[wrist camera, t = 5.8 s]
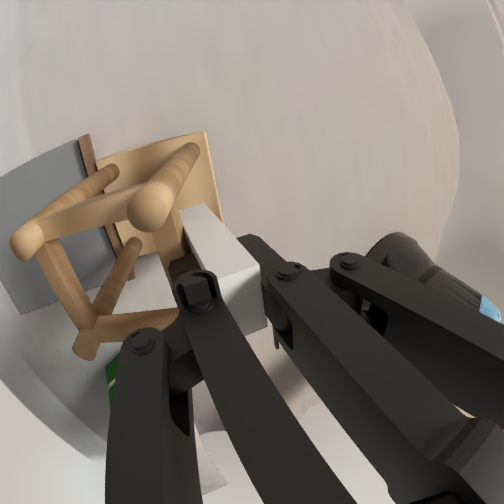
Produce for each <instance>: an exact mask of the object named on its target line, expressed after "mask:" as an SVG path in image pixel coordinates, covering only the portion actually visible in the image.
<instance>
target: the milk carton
mask: <svg viewBox="0 0 504 504" xmlns="http://www.w3.org/2000/svg"><path fill="white" fill-rule="evenodd" d="M119 356H120V354H119V355H118V356H117V357H116V358H115V359H114V360H113V361H112V362H111V363H110V364H109V365H108V366H107V367H106V376H107V384H108V391H109V400H110V410H111V404H112V397H113V391H114V384H115V378H116V372H117V367H118V361H119ZM194 429H195V440H196V451H197V461H198V470H199V478H200V486H201V494H202V495H204V494H206V493H209V492H211V491H214V490H216V489H218V488H220V487H223V486H225V485H227V484H228V482H227V481H226V480H225V478H224V477H223V476H222V474H221V473H220V471H219V470H218V469H217V467H216V466H215V465H214V463H213V461H212V460H211V459H210V457H209V456H208V454H207V452H206V451H205V449H204V446H203V444H202V441H201V439H200V436H199V433H198V431H197V428H196V425H195V423H194Z"/></svg>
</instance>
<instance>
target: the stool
mask: <svg viewBox="0 0 504 504" xmlns="http://www.w3.org/2000/svg"><path fill="white" fill-rule="evenodd" d="M96 165H97V169H98V171H97V172H95V173H94V174H92V175H90V176H89V177H87V178H86V179H84V180H83V181H81V182H80V183H78V184H77V185H75V186H74V187H72V188H71V189H69V190H68V191H67V192H65V193H64V194H62V195H61V196H60V197H58V198H57V199H55V200H54V201H53V202H51V203H50V204H49V205H47V206H46V207H45V208H43V209H42V210H41V211H40V212H38V213H37V214H36V215H35V216H33V217H32V218H31V219H30V220H28V221H27V222H26V223H25V224H24V225H22V226H21V227H20V228H19V229H18V230H17V231H15V232H14V233H13V234H12V235H11V237H10V241H9V242H10V248H11V250H12V252H13V254H14V255H15V256H16V257H17V258H18V259H19V260H21V261H24V262H25V261H28V260H29V259H30V258H31V257H32V256H33V255H34V254H35V255H36V257H37V260H38V262H39V264H40V266H41V268H42V270H43V271H44V273H45V275H46V277H47V279H48V281H49V283H50V285H51V286H52V288H53V290H54V292H55V293H56V295H57V297H58V299H59V300H60V302H61V304H62V305H63V307H64V309H65V310H66V312H67V313H68V315H69V317H70V318H71V320H72V321H73V323H74V324H75V326H76V327H77V329H78V330H79V333H78V335H77V337H76V340H75V342H74V344H73V346H72V349H73V351H74V353H75V354H76V355H77V356H79V357H80V358H82V359H84V360H88V361H92V360H94V358H95V356H96V353H97V350H98V347H99V345H100V343H105V342H124V340H125V339H126V337H127V336H128V335H129V334H130V333H132V332H134V331H135V330H137V329H141V328H144V327H153V328H155V329H158V330H159V331H161V330H163V329H164V328H166V327H167V326H169V325H170V324H171V323H172V322H173V321H174V320H175V319H176V317H177V316H178V313H179V309H178V307H177V308H169V309H160V310H152V311H143V312H134V313H124V314H114V315H111V314H112V312H113V309H114V307H115V305H116V302H117V300H118V298H119V296H120V293H121V291H122V289H123V287H124V284H125V282H126V280H127V278H128V276H129V274H130V271H131V269H132V267H133V265H134V263H135V261H136V259H137V257H138V256H141V255H147V254H152V253H158V254H159V256H160V259H161V262H162V265H163V268H164V270H165V273H166V276H167V278H168V281H169V284H170V286H171V289H172V282H171V278H170V275H169V271H168V266H169V264H170V261H171V260H174V259H177V258H180V257H183V256H186V255H189V254H191V253H190V249H189V246H188V242H187V239H186V235H185V232H184V228H183V225H182V221H181V217H180V213H179V210H182V209H186V208H189V207H192V206H196V205H199V204H202V203H205V204H206V205H207V206H208V208H209V209H210V210H211V211H212V212H213V213H214V214H215V215H216V217H217V218H218V219H219V220H220V221H221V222H222V223H223V224H224V222H223V217H222V212H221V207H220V202H219V197H218V192H217V187H216V182H215V177H214V172H213V167H212V161H211V156H210V151H209V146H208V140H207V135H206V131H201V132H196V133H192V134H187V135H183V136H178V137H174V138H170V139H166V140H162V141H158V142H154V143H150V144H147V145H143V146H140V147H136V148H133V149H130V150H126V151H123V152H120V153H117V154H114V155H111V156H108V157H105V158H103V159H101V160H99V161H97V162H96ZM103 189H104V192H105V194H102V195H99V196H96V195H97V194H98V193H99V192H101V191H102V190H103ZM113 223H115V225H116V228H117V231H118V233H119V236H120V239H121V241H122V244H123V246H124V248H123V250H122V252H121V253H120V255H119V257H118V258H117V260H116V262H115V263H114V265H113V267H112V269H111V270H110V272H109V274H108V276H107V278H106V279H105V281H104V283H103V285H102V287H101V289H100V291H99V292H98V294H97V296H96V298H95V300H94V302H93V304H91V302H90V300H89V299H88V297H87V295H86V293H85V291H84V289H83V288H82V286H81V284H80V282H79V280H78V278H77V276H76V274H75V272H74V270H73V268H72V266H71V264H70V262H69V260H68V258H67V255H66V253H65V251H64V249H63V247H62V244H61V242H60V240H59V238H60V237H63V236H67V235H70V234H74V233H78V232H81V231H85V230H89V229H93V228H97V227H101V226H105V225H109V224H113Z"/></svg>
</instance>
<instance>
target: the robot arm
mask: <svg viewBox="0 0 504 504" xmlns="http://www.w3.org/2000/svg"><path fill="white" fill-rule="evenodd" d="M179 213H180V217H181V221H182V225H183V228H184V232H185V235H186V239H187V242H188V246H189V249H190V253H191V254H189V255H186V256H183V257H180V258H177V259H174V260H171V261H170V264H169V266H168V271H169V275H170V278H171V282H172V293H173V296H174V298H175V301H176V303H177V306H178V309H179V313H178V316H177V317H176V319H175V320H174V321H173V322H172V323H171V324H170V325H169V326H167V327H166V328H164V329H163V330H161V331H159V330H158V329H155V328H153V327H144V328H141V329H137V330H135V331H134V332H132V333H130V334H129V335H128V336H127V337H126V339H125V340H124V342H123V344H122V346H121V351H120V356H119V361H118V367H117V372H116V378H115V384H114V391H113V397H112V404H111V412H110V421H109V430H108V440H107V453H106V473H105V474H106V475H105V504H203V501H202V494H201V486H200V478H199V470H198V461H197V451H196V440H195V429H194V415H193V399H192V389H191V388H192V387H194V386H195V385H196V384H198V383H199V382H201V381H202V380H203V379H204V380H205V382H206V385H207V387H208V390H209V392H210V395H211V397H212V399H213V402H214V404H215V407H216V409H217V411H218V413H219V416H220V418H221V420H222V422H223V425H224V427H225V429H226V431H227V433H228V435H229V437H230V440H231V442H232V444H233V446H234V448H235V450H236V452H237V454H238V456H239V458H240V460H241V462H242V464H243V466H244V468H245V470H246V472H247V474H248V476H249V477H250V479H251V481H252V483H253V485H254V487H255V488H256V490H257V492H258V494H259V496H260V497H261V499H262V501H263V503H264V504H357V503H356V501H355V500H354V499H353V497H352V496H351V495H350V494H349V492H348V491H347V490H346V488H345V487H344V486H343V484H342V483H341V482H340V480H339V479H338V478H337V476H336V475H335V474H334V472H333V471H332V470H331V468H330V467H329V465H328V464H327V463H326V462H325V460H324V458H323V457H322V456H321V454H320V453H319V451H318V450H317V449H316V447H315V446H314V444H313V443H312V441H311V440H310V439H309V437H308V435H307V434H306V433H305V431H304V430H303V428H302V427H301V425H300V424H299V422H298V421H297V419H296V418H295V416H294V415H293V413H292V412H291V410H290V409H289V407H288V406H287V404H286V403H285V401H284V399H283V398H282V396H281V395H280V393H279V392H278V390H277V389H276V387H275V385H274V384H273V382H272V381H271V379H270V377H269V376H268V374H267V373H266V371H265V369H264V368H263V366H262V365H261V363H260V361H259V360H258V358H257V356H256V355H255V353H254V352H253V350H252V348H251V347H250V345H249V343H248V342H247V340H246V338H245V337H244V336H246V335H248V334H251V333H253V332H256V331H258V330H261V329H263V328H265V327H268V325H267V317H268V319H269V320H270V322H271V323H272V326H273V335H274V343H275V347H276V350H277V349H279V343H280V344H281V345H282V347H283V348H284V350H285V351H286V352H287V354H288V355H289V357H290V358H291V359H292V361H293V362H294V363H295V365H296V366H297V368H298V369H299V370H300V372H301V373H302V374H303V376H304V377H305V378H306V380H307V381H308V383H309V384H310V385H311V387H312V388H313V389H314V391H315V392H316V393H317V395H318V396H319V397H320V399H321V400H322V401H323V403H324V404H325V405H326V407H327V408H328V409H329V411H330V412H331V413H332V414H333V416H334V417H335V418H336V420H337V421H338V422H339V423H340V425H341V426H342V428H343V429H344V430H345V431H346V433H347V434H348V435H349V436H350V438H351V439H352V440H353V441H354V443H355V444H356V446H357V447H358V448H359V449H360V451H361V452H362V453H363V454H364V456H365V457H366V458H367V459H368V460H369V462H370V463H371V464H372V465H373V467H374V468H375V469H376V471H377V472H378V473H379V474H380V475H381V477H382V478H383V479H384V480H385V482H386V484H387V486H388V492H389V495H390V497H391V498H392V500H393V501H394V502H395V503H396V504H504V431H503V430H504V325H503V324H501V323H500V319H501V316H500V312H499V310H498V308H497V307H496V306H495V305H494V304H492V303H491V302H490V301H489V300H488V299H487V298H485V296H484V295H483V294H482V295H481V294H480V293H479V292H477V291H476V290H474V289H473V288H471V287H470V286H468V285H467V284H465V283H464V282H462V281H461V280H459V279H458V278H456V277H454V276H453V275H451V274H450V273H448V272H447V271H445V270H444V269H442V268H440V267H439V266H437V265H436V264H435V263H434V262H433V261H432V260H431V259H430V257H429V256H428V255H427V254H426V253H425V252H424V250H423V249H422V248H421V247H420V246H419V245H418V243H417V242H416V241H415V240H414V239H413V238H411V237H409V236H408V235H406V234H404V233H401V232H396V233H392V234H390V235H388V236H386V237H385V238H383V239H382V240H381V241H380V242H379V243H378V244H377V245H376V246H375V247H374V248H373V249H372V250H371V252H370V253H369V254H368V256H367V257H364V256H362V255H359V254H356V253H350V252H344V253H339V254H337V255H335V256H333V257H332V258H331V260H330V268H325V269H318V270H310V271H309V270H308V269H307V268H306V267H305V266H303V265H301V264H300V263H296V262H286V261H285V260H284V259H283V258H282V257H281V256H279V255H278V254H277V253H276V252H275V251H274V250H273V249H272V248H270V246H269V245H268V244H266V243H265V242H264V241H263V240H262V239H261V238H260V237H258V236H255V235H252V234H248V235H245V236H242V237H238V238H235V237H234V236H233V234H232V233H231V232H230V231H229V230H228V229H227V228H226V227H225V226H224V224H223V223H222V222H221V221H220V220H219V219H218V218H217V217H216V215H215V214H214V213H213V212H212V211H211V210H210V209H209V208H208V206H207V205H206V204H205V203H202V204H199V205H196V206H192V207H189V208H186V209H182V210H179ZM266 316H267V317H266ZM454 405H455V406H457V407H459V408H460V409H462V410H464V411H465V412H467V413H469V414H471V415H472V416H474V417H476V418H469V417H466V416H465V415H463V414H462V413H461V412H460V411H459V410H458V409H457V408H456V407H455V406H454Z"/></svg>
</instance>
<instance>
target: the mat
mask: <svg viewBox="0 0 504 504" xmlns="http://www.w3.org/2000/svg"><path fill="white" fill-rule="evenodd" d="M86 178H87V175H86V172H85V168H84V165H83V161H82V157H81V153H80V149H79V145H78V141H77V139H75V140H73V141H70V142H68V143H66V144H64V145H61V146H59V147H57V148H55V149H52V150H50V151H48V152H46V153H44V154H42V155H40V156H38V157H36V158H34V159H32V160H30V161H28V162H26V163H25V164H23V165H21V166H19V167H17V168H16V169H14V170H12V171H10V172H9V173H7V174H5V175H3V176H2V177H0V280H1V282H2V283H3V285H4V287H5V289H6V290H7V292H8V294H9V296H10V297H11V299H12V300H13V302H14V304H15V305H16V307H17V308H18V310H19V312H20V313H21V315H22V314H25V313H27V312H30V311H33V310H35V309H38V308H41V307H43V306H46V305H49V304H51V303H54V302H57V301H59V299H58V297H57V295H56V293H55V292H54V290H53V288H52V286H51V285H50V283H49V281H48V279H47V277H46V275H45V273H44V271H43V270H42V268H41V266H40V264H39V262H38V260H37V257H36V255H35V254H34V255H33V256H32V257H31V258H30V259H29V260H28V261H25V262H24V261H21V260H19V259H18V258H17V257H16V256H15V255H14V254H13V252H12V250H11V248H10V242H9V241H10V237H11V235H12V234H13V233H14V232H15V231H17V230H18V229H19V228H20V227H21V226H22V225H24V224H25V223H26V222H27V221H28V220H30V219H31V218H32V217H33V216H35V215H36V214H37V213H38V212H40V211H41V210H42V209H43V208H45V207H46V206H47V205H49V204H50V203H51V202H53V201H54V200H55V199H57V198H58V197H60V196H61V195H62V194H64V193H65V192H67V191H68V190H69V189H71V188H72V187H74V186H75V185H77V184H78V183H80V182H81V181H83V180H84V179H86ZM59 240H60V242H61V244H62V247H63V249H64V251H65V253H66V255H67V258H68V260H69V262H70V264H71V266H72V268H73V270H74V272H75V274H76V276H77V278H78V280H79V282H80V284H81V286H82V288H83V289H84V291H86V290H89V289H92V288H95V287H98V286H100V285H103V283H104V281H105V279H106V278H107V276H108V274H109V272H110V270H111V269H112V267H113V265H114V263H115V262H116V260H117V259H116V257H115V254H114V252H113V249H112V247H111V244H110V242H109V239H108V237H107V234H106V232H105V229H104V226H101V227H97V228H93V229H89V230H85V231H81V232H78V233H74V234H70V235H67V236H63V237H60V238H59Z"/></svg>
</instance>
